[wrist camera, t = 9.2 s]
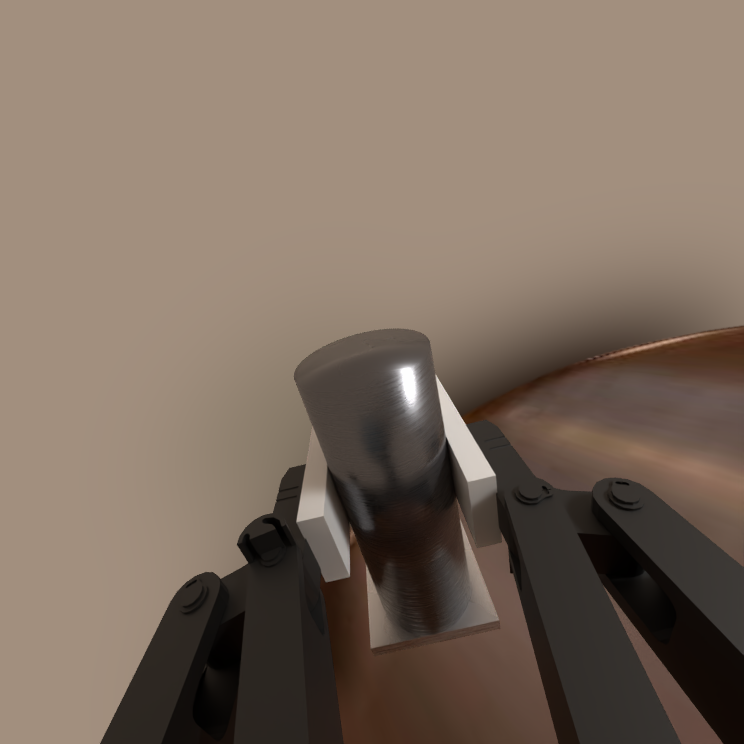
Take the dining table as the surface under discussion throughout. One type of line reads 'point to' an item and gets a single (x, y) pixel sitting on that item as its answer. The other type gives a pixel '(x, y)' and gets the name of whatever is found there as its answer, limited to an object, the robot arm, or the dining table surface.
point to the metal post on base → (396, 486)
